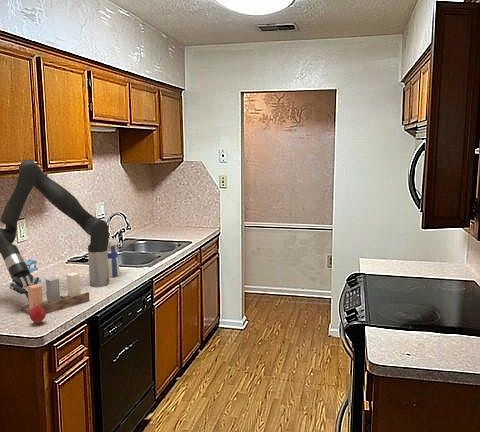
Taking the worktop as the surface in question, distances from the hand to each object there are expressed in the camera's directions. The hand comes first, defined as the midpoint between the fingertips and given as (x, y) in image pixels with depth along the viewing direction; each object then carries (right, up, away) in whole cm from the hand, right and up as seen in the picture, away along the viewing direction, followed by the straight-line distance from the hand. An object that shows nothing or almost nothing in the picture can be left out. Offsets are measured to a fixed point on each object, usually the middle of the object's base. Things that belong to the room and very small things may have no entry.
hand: (32, 299), depth 208 cm
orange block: (+2, -4, -1) cm, 4 cm away
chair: (-19, +1, +42) cm, 46 cm away
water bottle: (+20, +3, +54) cm, 57 cm away
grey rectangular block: (+5, -2, +9) cm, 11 cm away
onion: (+7, -8, -12) cm, 16 cm away
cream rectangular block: (+12, -1, +16) cm, 20 cm away
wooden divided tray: (+7, -4, +8) cm, 11 cm away
